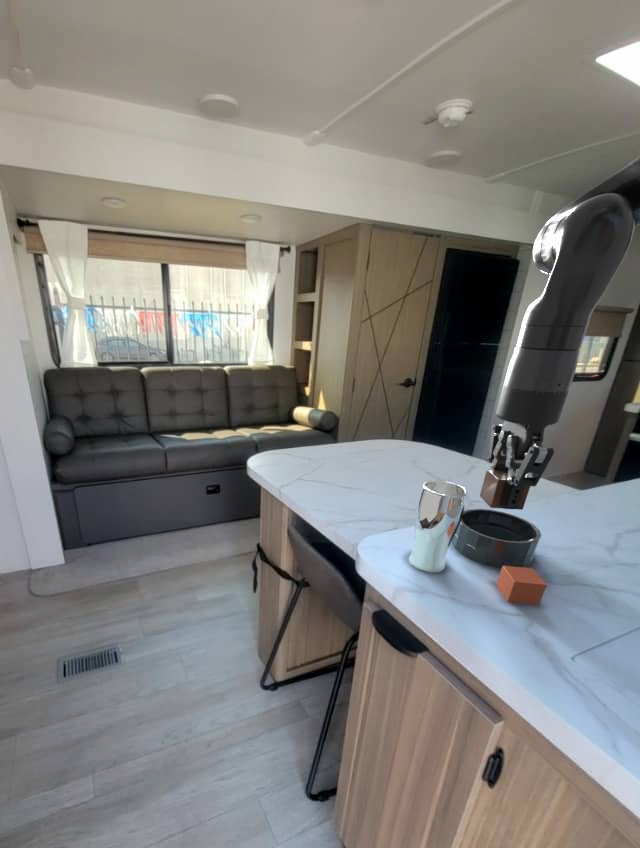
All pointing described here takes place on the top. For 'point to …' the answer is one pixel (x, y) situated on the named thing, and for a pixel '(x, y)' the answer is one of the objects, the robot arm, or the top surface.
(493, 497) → the walnut block
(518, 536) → the shallow dark bowl
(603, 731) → the top surface
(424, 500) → the beer glass
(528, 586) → the terracotta block
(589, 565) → the top surface
